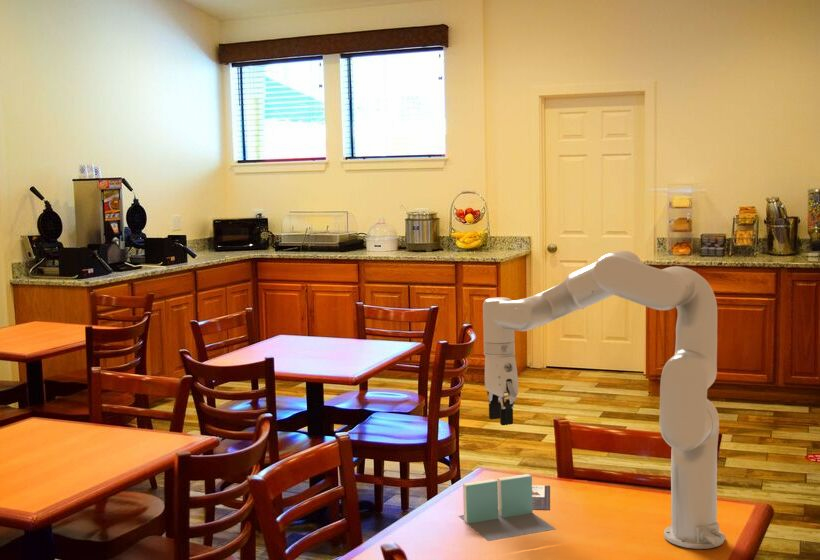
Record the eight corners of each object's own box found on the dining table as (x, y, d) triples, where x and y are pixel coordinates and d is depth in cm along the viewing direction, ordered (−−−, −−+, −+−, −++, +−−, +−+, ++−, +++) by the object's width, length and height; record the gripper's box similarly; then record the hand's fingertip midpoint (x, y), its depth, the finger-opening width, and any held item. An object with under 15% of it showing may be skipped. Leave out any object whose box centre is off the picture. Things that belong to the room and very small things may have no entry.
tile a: (532, 512, 212) (531, 476, 211) (502, 517, 209) (501, 480, 208) (528, 510, 214) (527, 473, 213) (498, 515, 211) (497, 478, 210)
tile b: (498, 518, 209) (497, 481, 208) (467, 523, 206) (466, 485, 205) (494, 515, 211) (493, 478, 210) (464, 520, 208) (462, 483, 207)
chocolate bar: (512, 508, 215) (515, 484, 232) (512, 512, 215) (515, 488, 232) (549, 509, 213) (549, 485, 231) (549, 513, 213) (549, 489, 231)
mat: (556, 530, 201) (556, 528, 201) (488, 542, 195) (488, 540, 195) (522, 507, 217) (522, 505, 217) (458, 517, 211) (458, 515, 211)
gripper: (529, 352, 208) (531, 428, 209) (498, 342, 224) (499, 412, 225) (500, 355, 205) (502, 431, 207) (470, 344, 221) (472, 415, 223)
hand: (500, 420), depth 216 cm, fingers open, 5 cm apart
